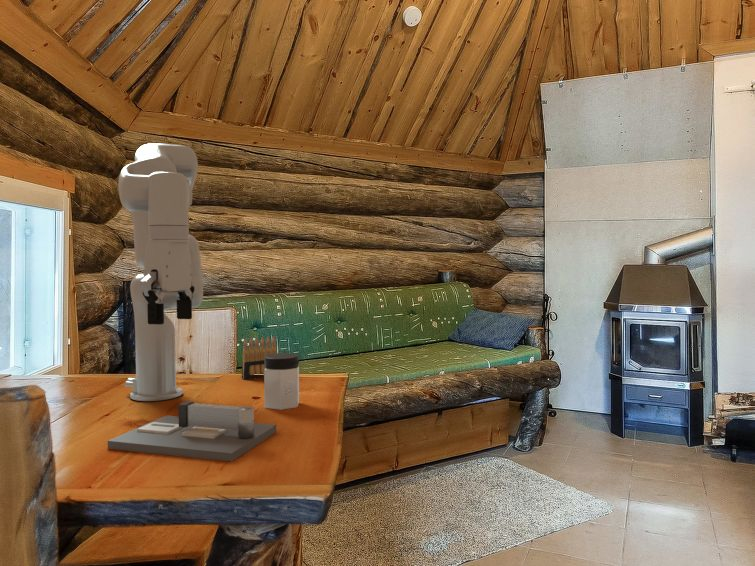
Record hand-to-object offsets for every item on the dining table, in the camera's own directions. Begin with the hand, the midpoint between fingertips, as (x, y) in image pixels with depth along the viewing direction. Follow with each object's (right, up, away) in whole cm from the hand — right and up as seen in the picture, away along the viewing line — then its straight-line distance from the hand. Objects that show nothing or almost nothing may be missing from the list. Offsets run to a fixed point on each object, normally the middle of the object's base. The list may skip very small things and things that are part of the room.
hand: (170, 321), depth 120 cm
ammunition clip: (+7, -20, +57) cm, 61 cm away
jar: (+18, -22, +24) cm, 38 cm away
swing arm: (+10, -21, -4) cm, 24 cm away
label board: (+6, -23, -2) cm, 24 cm away
